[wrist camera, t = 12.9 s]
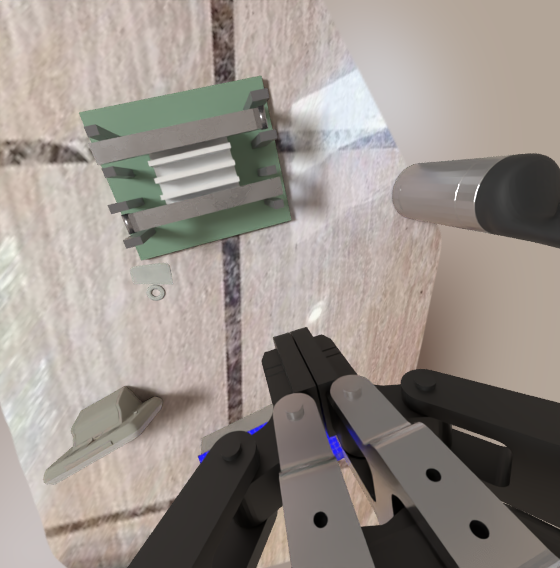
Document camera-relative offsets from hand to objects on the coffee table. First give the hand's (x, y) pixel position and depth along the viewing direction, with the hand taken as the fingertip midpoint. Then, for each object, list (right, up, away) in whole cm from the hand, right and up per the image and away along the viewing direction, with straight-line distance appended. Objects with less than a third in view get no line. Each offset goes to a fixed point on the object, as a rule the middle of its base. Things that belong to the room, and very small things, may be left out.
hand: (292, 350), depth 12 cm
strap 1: (-12, +20, +22) cm, 32 cm away
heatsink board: (-13, +19, +30) cm, 38 cm away
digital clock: (-30, -20, +41) cm, 54 cm away
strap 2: (-10, +13, +25) cm, 30 cm away
